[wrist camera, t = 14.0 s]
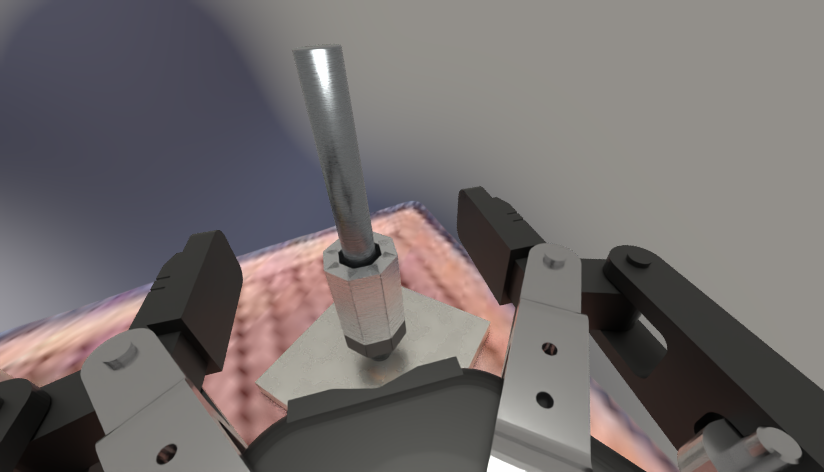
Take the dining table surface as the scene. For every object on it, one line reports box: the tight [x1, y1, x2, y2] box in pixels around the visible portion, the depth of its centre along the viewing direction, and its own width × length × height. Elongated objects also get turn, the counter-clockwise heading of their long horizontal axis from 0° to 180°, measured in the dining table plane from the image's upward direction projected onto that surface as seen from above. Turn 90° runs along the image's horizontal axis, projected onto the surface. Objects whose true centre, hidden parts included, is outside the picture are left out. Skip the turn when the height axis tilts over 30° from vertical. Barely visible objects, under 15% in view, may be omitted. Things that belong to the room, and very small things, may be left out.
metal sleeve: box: [323, 232, 405, 345], centre depth 28 cm, size 6×6×8 cm
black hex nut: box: [344, 320, 406, 358], centre depth 31 cm, size 6×6×2 cm
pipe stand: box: [255, 44, 490, 411], centre depth 26 cm, size 18×18×30 cm
